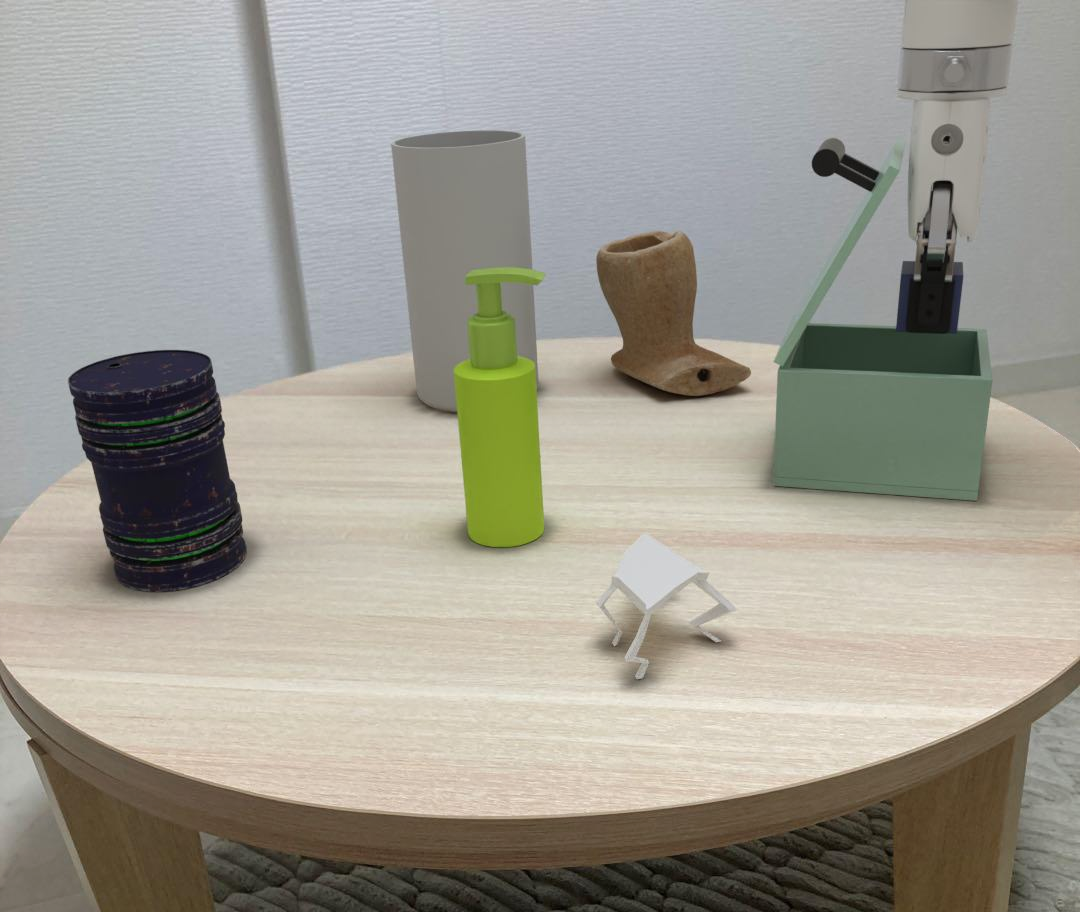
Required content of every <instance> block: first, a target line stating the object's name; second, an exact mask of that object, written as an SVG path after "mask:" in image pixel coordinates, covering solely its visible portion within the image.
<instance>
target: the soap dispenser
mask: <svg viewBox="0 0 1080 912" xmlns="http://www.w3.org/2000/svg"><path fill="white" fill-rule="evenodd" d="M546 275H547V273H545V272H542V271H539V270H535V269H532V270H531V269H525V268H516V267H500V268H488V269H479V270H471V271H470V272H469V273H468V275H467V276H466V277H465V279H466V285H473V284H476V290H477V303H478V313H476V314H474V316H472V317H470V318H469V319H468V320H467V328H468V340H469V352H470V359H469V360H466V361H463V362H461V363H459V364H458V365H457V366H455V368H454V381H455V392H456V403H457V412H456V413H457V423H458V425H457V426H458V436H459V447H460V448H459V449H460V458H461V469H462V478H463V479H462V480H463V490H464V501H465V512H466V513H465V514H466V524H467V534H468V537H469V538H470V539H471V541H473V542H474V543H477V544H479V545H481V546H485V547H491V548H512V547H517V546H523V545H525V544H529V543H531V542H533V541H535V540H537V539H538V538H540V537H541V536H543V534H544V532H545V517H544V516H545V515H544V513H545V512H544V498H543V497H544V496H543V495H544V494H543V480H542V462H541V444H540V443H541V442H540V428H539V427H540V425H539V409H538V407H539V406H538V389H537V390H536V372H535V363H534V362H533V361H532V360H530V359H528V358H525V357H520V356H517V347H516V331H515V319H514V317H513V316H512V315H510V314H507V312H505V311H502V301H501V286H500V283H503V282H517V283H525V284H531V285H533V286H539V284H540V283H542V281H543V280H544V279H545V277H546Z"/></svg>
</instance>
